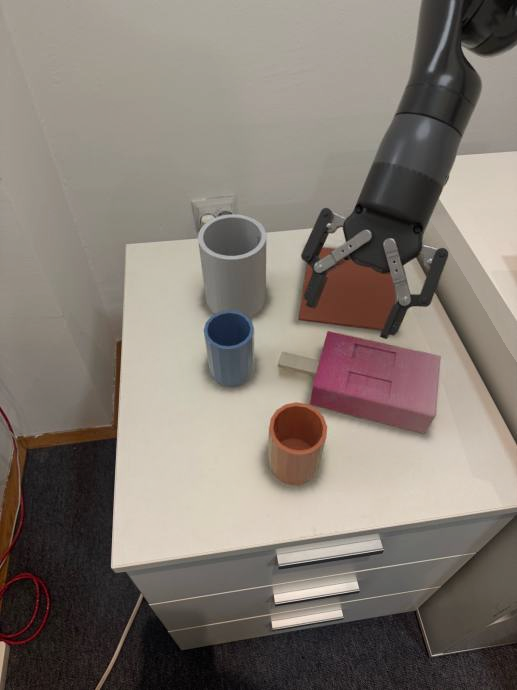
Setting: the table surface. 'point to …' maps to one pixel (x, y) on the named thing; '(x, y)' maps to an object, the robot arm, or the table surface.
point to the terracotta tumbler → (296, 442)
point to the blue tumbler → (230, 347)
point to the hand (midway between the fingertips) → (346, 322)
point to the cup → (233, 263)
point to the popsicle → (372, 380)
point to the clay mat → (351, 296)
